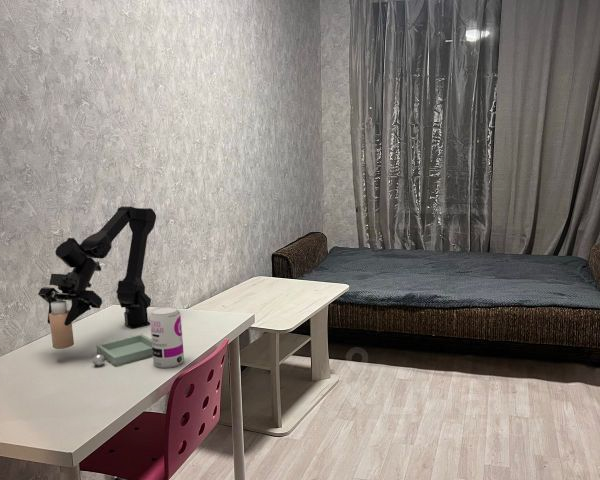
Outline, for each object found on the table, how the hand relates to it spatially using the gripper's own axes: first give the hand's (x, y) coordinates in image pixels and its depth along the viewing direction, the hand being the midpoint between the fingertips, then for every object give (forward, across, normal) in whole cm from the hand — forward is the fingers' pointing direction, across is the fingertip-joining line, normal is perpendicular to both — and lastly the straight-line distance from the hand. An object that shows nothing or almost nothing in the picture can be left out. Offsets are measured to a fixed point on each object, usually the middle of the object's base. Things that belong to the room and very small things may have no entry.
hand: (57, 324), depth 169 cm
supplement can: (+3, +31, +13) cm, 34 cm away
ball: (+6, +13, +7) cm, 16 cm away
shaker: (+4, 0, +6) cm, 7 cm away
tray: (0, +15, +15) cm, 22 cm away
